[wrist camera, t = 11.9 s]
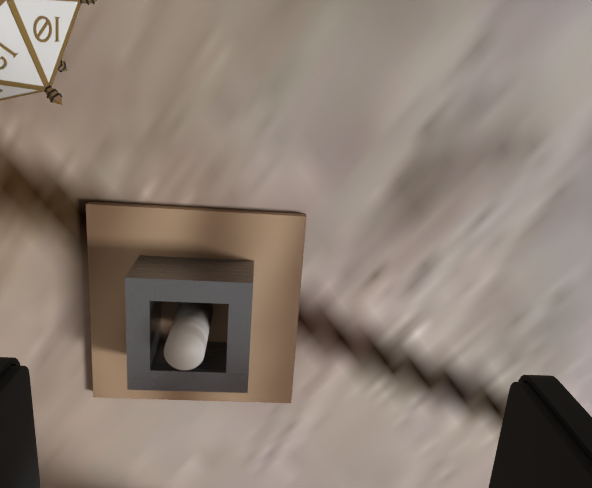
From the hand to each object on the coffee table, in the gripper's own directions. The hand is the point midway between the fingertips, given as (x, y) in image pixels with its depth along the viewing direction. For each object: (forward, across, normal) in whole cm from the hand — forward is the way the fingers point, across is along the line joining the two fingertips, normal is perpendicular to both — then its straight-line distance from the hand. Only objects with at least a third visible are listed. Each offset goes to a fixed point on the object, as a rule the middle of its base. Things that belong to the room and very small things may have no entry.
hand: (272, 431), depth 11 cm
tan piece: (+21, +4, +7) cm, 23 cm away
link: (+20, +4, +7) cm, 22 cm away
